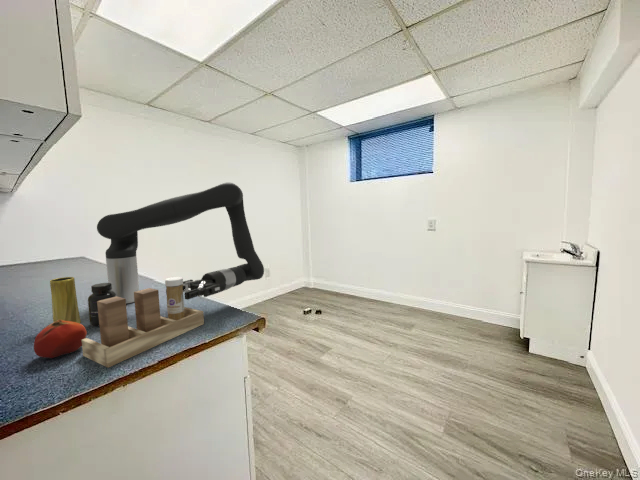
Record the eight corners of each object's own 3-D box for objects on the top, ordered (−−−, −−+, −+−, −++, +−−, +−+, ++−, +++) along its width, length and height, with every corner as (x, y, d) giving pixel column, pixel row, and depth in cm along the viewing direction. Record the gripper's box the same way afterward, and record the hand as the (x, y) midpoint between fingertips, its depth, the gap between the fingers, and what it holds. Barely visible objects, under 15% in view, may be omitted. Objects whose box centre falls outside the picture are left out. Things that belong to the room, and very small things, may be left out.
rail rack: (83, 355, 62) (77, 302, 61) (180, 317, 84) (177, 278, 83) (108, 367, 57) (102, 310, 56) (204, 323, 79) (201, 282, 78)
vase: (47, 330, 76) (41, 282, 74) (62, 322, 82) (57, 277, 80) (72, 328, 77) (67, 280, 76) (85, 320, 83) (81, 276, 81)
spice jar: (166, 326, 75) (163, 280, 74) (170, 320, 80) (167, 276, 78) (183, 324, 77) (181, 279, 75) (186, 318, 81) (184, 275, 80)
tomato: (82, 340, 70) (79, 311, 69) (93, 350, 64) (90, 319, 64) (31, 356, 62) (27, 323, 61) (39, 369, 57) (34, 334, 56)
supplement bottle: (91, 329, 76) (87, 289, 75) (88, 322, 81) (84, 284, 80) (120, 322, 81) (117, 284, 80) (116, 316, 86) (112, 280, 85)
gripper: (204, 268, 94) (159, 279, 80) (233, 272, 88) (191, 284, 74) (205, 289, 95) (161, 302, 81) (234, 294, 89) (193, 310, 74)
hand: (175, 294), depth 77 cm, fingers open, 8 cm apart
